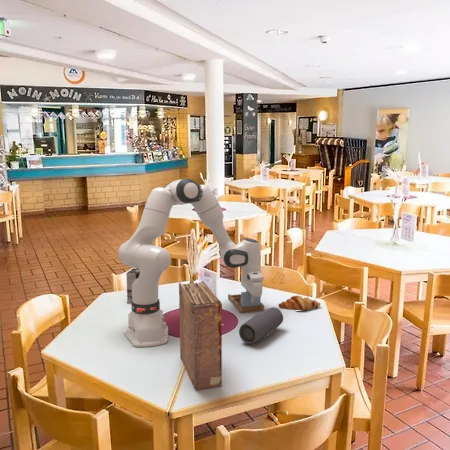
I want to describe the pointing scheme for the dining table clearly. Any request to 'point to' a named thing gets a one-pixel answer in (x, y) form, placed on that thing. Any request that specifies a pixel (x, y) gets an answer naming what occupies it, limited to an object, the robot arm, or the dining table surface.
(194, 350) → the book
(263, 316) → the bluetooth speaker
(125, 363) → the dining table surface
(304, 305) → the croissant
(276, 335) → the dining table surface
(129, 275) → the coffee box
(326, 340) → the dining table surface
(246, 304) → the blue-grey square slab
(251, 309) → the wooden tray
